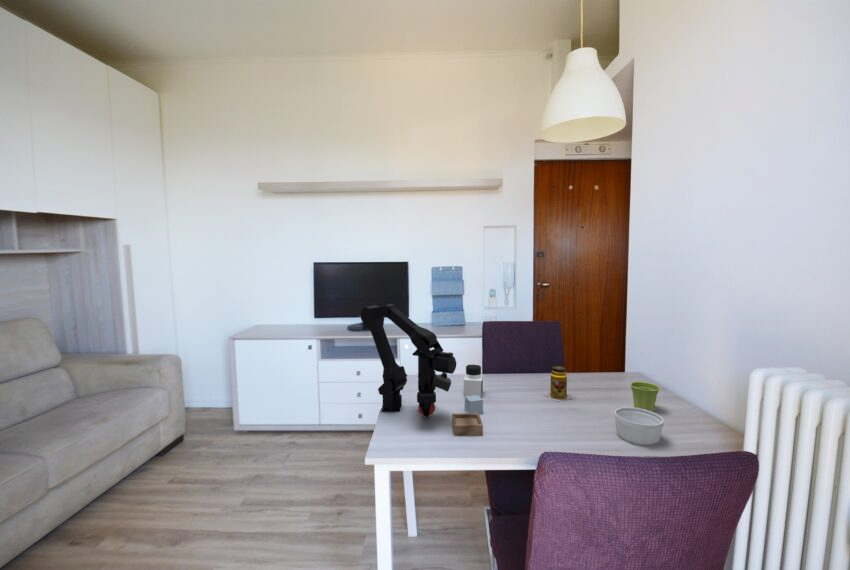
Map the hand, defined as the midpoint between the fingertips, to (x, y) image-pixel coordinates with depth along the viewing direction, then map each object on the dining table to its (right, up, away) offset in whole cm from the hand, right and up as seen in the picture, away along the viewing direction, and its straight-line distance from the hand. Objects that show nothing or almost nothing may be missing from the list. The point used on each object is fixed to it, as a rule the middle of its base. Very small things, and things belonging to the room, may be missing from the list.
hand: (426, 412), depth 131 cm
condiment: (+52, 0, +19) cm, 55 cm away
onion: (0, -2, 0) cm, 2 cm away
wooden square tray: (+13, -3, -9) cm, 16 cm away
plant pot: (+79, -1, +6) cm, 79 cm away
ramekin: (+65, -3, -15) cm, 67 cm away
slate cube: (+17, -1, +5) cm, 18 cm away
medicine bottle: (+19, 0, +22) cm, 29 cm away
